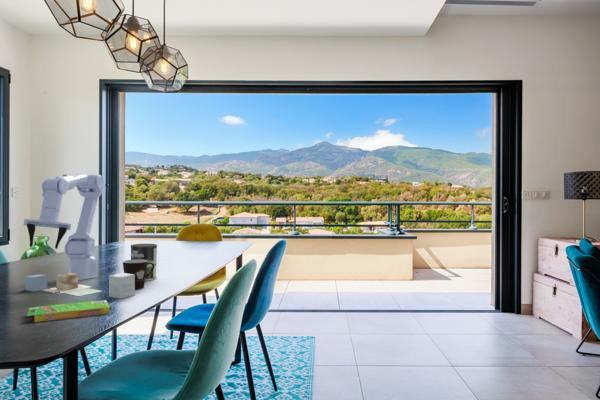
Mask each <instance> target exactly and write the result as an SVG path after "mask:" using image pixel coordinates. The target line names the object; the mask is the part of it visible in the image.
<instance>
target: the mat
mask: <svg viewBox="0 0 600 400" xmlns="http://www.w3.org/2000/svg"><path fill="white" fill-rule="evenodd" d="M102 292H104V291H103V290H101V289H100V290H99V289H93V288H91V287H89V288H84V289H79V290H73V291H68V292H64V294H66V295H71V296H74V297H82V296H89V295H93V294H97V293H102Z"/></svg>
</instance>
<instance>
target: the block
mask: <svg viewBox="0 0 600 400" xmlns="http://www.w3.org/2000/svg"><path fill="white" fill-rule="evenodd" d="M78 284H79V280H78V274H73V273H70V272H68V273H63V274H56V287H57V289H60V290H70V289H75V288H78Z"/></svg>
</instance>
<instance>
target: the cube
mask: <svg viewBox="0 0 600 400" xmlns="http://www.w3.org/2000/svg"><path fill="white" fill-rule="evenodd" d="M45 289H48V275H47V274H40V273H39V274H32V275H31V274H30V275H28V276H27V275H25V276H24V290H25V291H27V292H38V291H43V290H45Z"/></svg>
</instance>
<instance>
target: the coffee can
mask: <svg viewBox="0 0 600 400" xmlns="http://www.w3.org/2000/svg"><path fill="white" fill-rule="evenodd" d="M157 251H158V244H156V243H136V244H130V260H136V259H141V260H147V263H149V262H150V263H153V264H154V270H153V271H152V273H151V274H150V275H149V276H147V277H146V278H145V282H150V281H155V280H157V278H158V277H157V267H158V266H157V265H158V261H157V258H158V256H157ZM152 268H153V266H152V264H148V265H147V268H146V275H147V274H148V273H150V272H151V270H152Z"/></svg>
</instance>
